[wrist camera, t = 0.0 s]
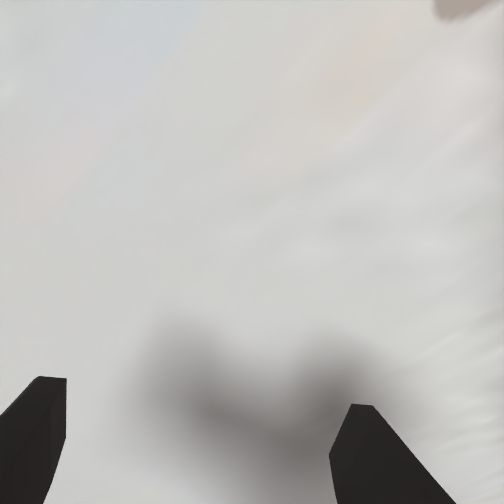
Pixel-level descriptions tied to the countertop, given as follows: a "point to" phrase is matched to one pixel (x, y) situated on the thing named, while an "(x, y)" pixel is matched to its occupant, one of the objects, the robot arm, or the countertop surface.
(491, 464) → the countertop surface
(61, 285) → the countertop surface
